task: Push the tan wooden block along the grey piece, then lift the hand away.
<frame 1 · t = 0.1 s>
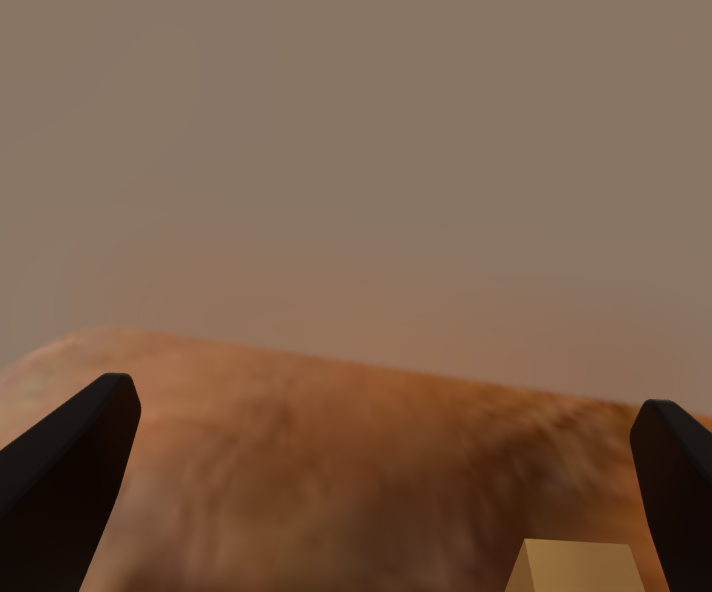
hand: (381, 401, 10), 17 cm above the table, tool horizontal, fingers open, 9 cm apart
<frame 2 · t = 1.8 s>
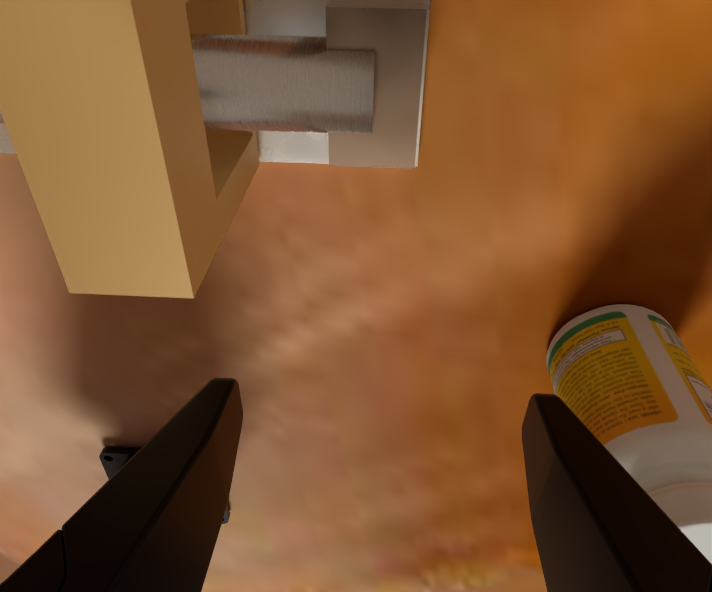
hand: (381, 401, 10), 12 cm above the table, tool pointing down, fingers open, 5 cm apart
grey piece: (57, 46, 18), on the table
tan wooden block: (157, 94, 14), point 5 cm above the table, slide at -5.0 cm
supplement bottle: (604, 344, 24), on the table
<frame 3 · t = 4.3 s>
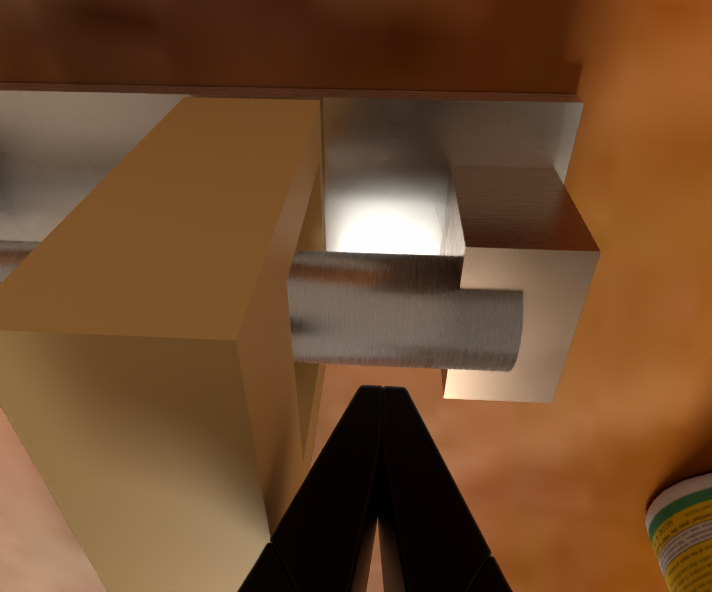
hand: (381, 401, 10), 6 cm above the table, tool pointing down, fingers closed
grey piece: (96, 216, 15), on the table
tan wooden block: (230, 338, 11), point 5 cm above the table, slide at -4.8 cm, touching gripper
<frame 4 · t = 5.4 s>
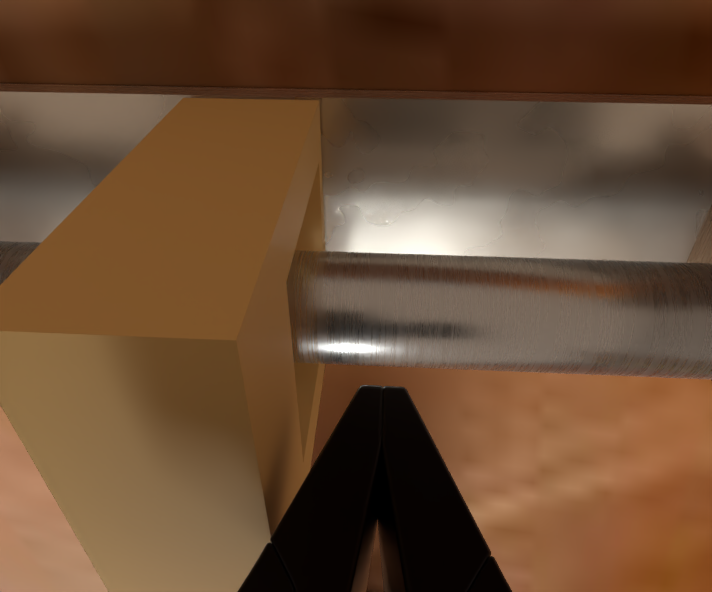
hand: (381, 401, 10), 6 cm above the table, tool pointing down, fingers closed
grey piece: (326, 223, 15), on the table
tan wooden block: (230, 338, 11), point 5 cm above the table, slide at 1.5 cm, touching gripper
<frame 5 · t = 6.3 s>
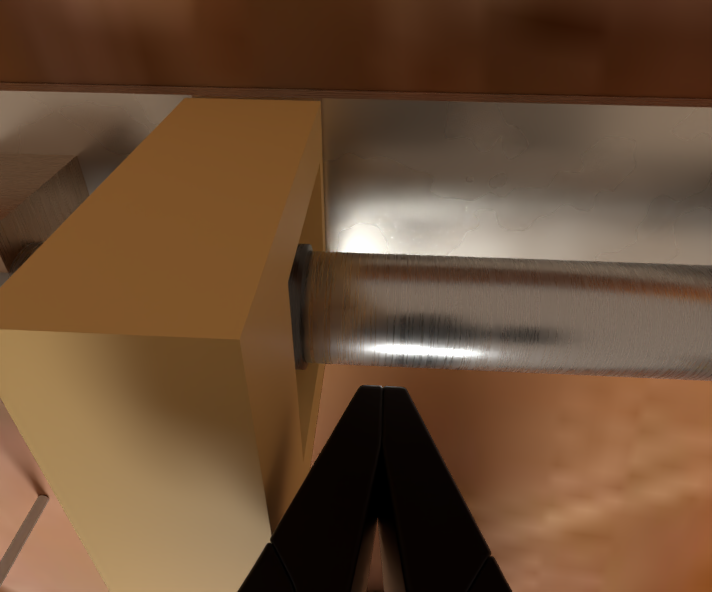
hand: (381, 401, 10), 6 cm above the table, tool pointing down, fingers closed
lollipop: (45, 494, 24), on the table
grey piece: (452, 228, 15), on the table
tan wooden block: (230, 337, 11), point 5 cm above the table, slide at 4.8 cm, touching gripper
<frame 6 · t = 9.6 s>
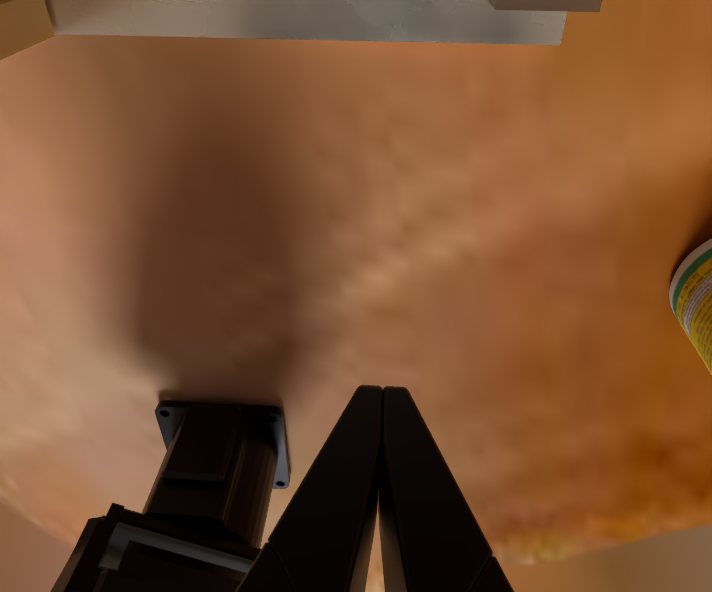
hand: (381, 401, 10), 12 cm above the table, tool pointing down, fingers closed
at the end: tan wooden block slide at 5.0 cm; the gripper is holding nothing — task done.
